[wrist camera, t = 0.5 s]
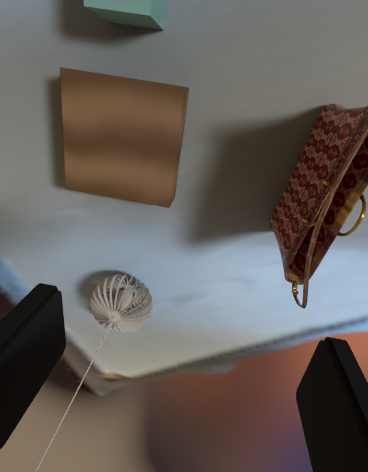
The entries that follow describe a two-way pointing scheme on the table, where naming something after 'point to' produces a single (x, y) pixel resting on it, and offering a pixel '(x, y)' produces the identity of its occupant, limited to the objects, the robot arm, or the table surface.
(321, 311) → the table surface
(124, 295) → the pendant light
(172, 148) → the walnut plinth
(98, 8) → the teal block
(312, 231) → the handbag
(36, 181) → the table surface
